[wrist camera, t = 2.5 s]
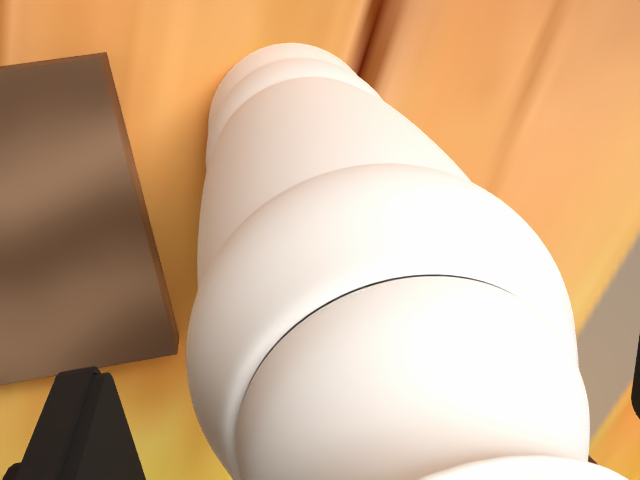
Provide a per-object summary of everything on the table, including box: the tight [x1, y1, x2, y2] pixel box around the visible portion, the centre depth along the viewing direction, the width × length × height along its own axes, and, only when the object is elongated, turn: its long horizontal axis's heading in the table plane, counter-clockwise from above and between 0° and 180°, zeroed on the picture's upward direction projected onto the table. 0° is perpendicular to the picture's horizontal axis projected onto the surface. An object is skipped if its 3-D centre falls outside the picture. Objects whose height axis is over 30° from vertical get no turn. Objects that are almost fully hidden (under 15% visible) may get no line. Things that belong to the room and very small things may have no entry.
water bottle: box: [186, 43, 629, 480], centre depth 16 cm, size 7×7×25 cm
